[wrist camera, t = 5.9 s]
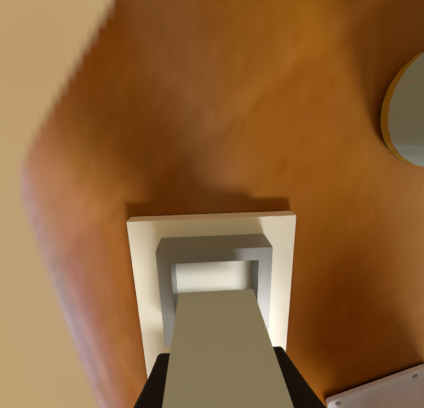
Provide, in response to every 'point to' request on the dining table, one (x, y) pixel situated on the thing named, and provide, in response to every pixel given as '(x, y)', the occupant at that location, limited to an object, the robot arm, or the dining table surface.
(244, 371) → the plug
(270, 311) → the board with square sockets
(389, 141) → the bottle
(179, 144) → the dining table surface
